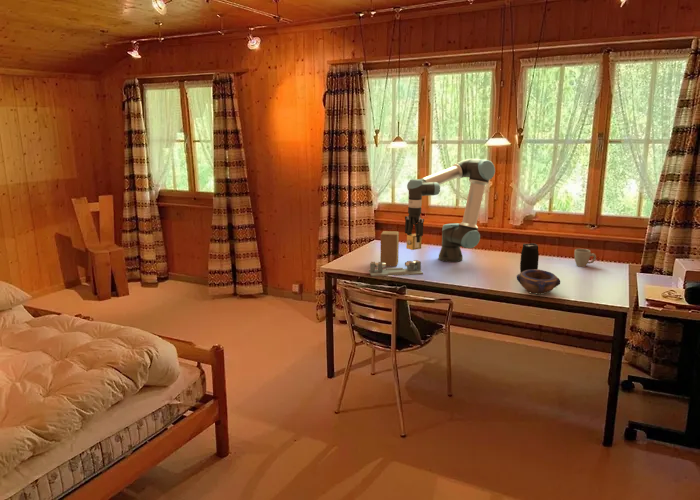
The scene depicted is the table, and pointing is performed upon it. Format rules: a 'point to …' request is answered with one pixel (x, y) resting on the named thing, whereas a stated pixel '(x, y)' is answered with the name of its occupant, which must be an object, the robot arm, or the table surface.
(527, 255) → the portable speaker
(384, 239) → the wooden block
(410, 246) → the coupling
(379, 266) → the grey bracket
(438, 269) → the table surface
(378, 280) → the table surface
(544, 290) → the bowl
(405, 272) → the rig
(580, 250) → the mug
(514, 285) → the table surface
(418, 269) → the grey metal block
